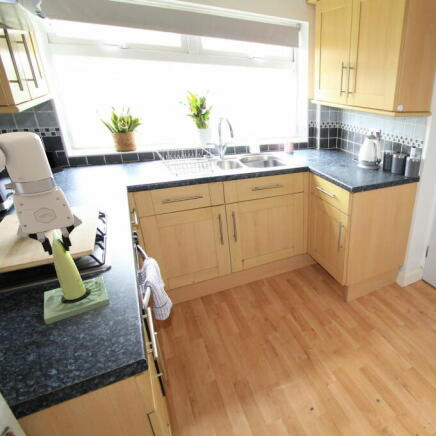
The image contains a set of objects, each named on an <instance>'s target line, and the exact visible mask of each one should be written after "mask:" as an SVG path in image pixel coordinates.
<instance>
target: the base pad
mask: <svg viewBox="0 0 436 436" xmlns="http://www.w3.org/2000/svg"><path fill="white" fill-rule="evenodd" d="M82 282H83V284H84V287H85V290H86V292H85V293H88V294H89V293H90V294H89V295H88V296H87V297H85V298H84V299H81V300H79V301H77V302H73V303H72V302H71V303H64V302H65V301H66V300H67V299H65V297H64V294H63V292H62V289H61V287H58V288H54V289H49V290H48V291H44V292H43V321H44V323H45V325H50V324H53V323H56V322H59V321H62V320H65V319H68V318H71V317H74V316H78V315H80V314H83V313H86V312H88V311H92V310H95V309H98V308H100V307H104V306H107V305H110V303H111V302H110V299H109V296H108V291H107V287H106V283H105V281H104V277H103V275H100V276H96V277H93V278H89V279H86V280H82Z"/></svg>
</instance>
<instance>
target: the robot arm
mask: <svg viewBox="0 0 436 436" xmlns="http://www.w3.org/2000/svg"><path fill="white" fill-rule="evenodd" d="M5 167H6V171H7V173H8V176H9V178H10V180H11V181H10V182H8V183H4V188H5V190H6V191H7V190H10V191H14V193H13V194H12V202H13V207H14V210H15V215H16V217H17V220H18V223H19V225H18V228H17V230H16V236H17V237H22V238H29V239H32V240H33V241H36V242H37V241H38V242H39V243H40V244H41V246H42V250H43V251H44V253H48V255H49V256H53V253H52V243H51V242H50V239H49V237H47V235H45V233H46V232H49V231H54V230H55V231H56V230H60V232H61V239H62V241H63V244H64V246H65V249H66V251H69V252H70V251H71V250H70V247H72V246H73V244H72V241H71V239H70V235H71V233H72V232H73V231H74V230H75V229H76V228H77V227H79V226H80V225H82V224H83V220H82V219H81V218H80V217H79V216H78V215H76V214H75V213H74V212H73V210H72V208H71V205H70V203H69V201H68V198H67V197H66V194H65V193H64V191H63V189H62V188H61V186H60V185H57V184H56V181H55V178H54V174H53V172H52V168H51V165H50V163H49V160H48V157H47V154H46V150H45V148H44V145H43V142H42V140H41V138H40V136H39V135H38V134H37V133H35V132H31V131H12V132H5V133H1V134H0V172H2V171H3V170H4V168H5Z"/></svg>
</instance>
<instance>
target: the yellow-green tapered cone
mask: <svg viewBox="0 0 436 436" xmlns="http://www.w3.org/2000/svg"><path fill="white" fill-rule="evenodd" d="M52 234H53V235H52V243H51V247H52V253H53V254H52V258H53V259H52V260H53V264H54V268H55V271H56V275H57V279H58V283H59V285H60V288H61V289H62V292H63V294H64V297H65V299H66V300H71V301H72V300H76V299H78V298H81V297H83V296H84V295H86V293H87V292H86V290H85V287H84V284H83V282H82V281H83V280H82V277H81V275H80V273H79V269H78V267H77V266H76V263H75V261H74V259H73V257H72V255H71V253H70V251H66V249H65V246H64V244H63V241H62V236H60V235H59V234H58V231H56V229H55V230H53V233H52Z"/></svg>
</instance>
